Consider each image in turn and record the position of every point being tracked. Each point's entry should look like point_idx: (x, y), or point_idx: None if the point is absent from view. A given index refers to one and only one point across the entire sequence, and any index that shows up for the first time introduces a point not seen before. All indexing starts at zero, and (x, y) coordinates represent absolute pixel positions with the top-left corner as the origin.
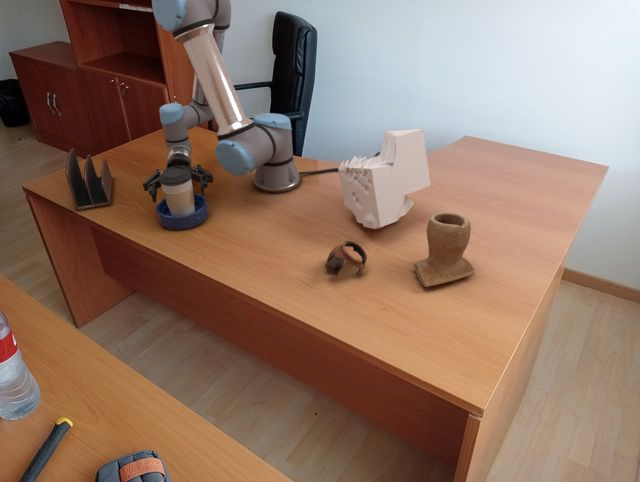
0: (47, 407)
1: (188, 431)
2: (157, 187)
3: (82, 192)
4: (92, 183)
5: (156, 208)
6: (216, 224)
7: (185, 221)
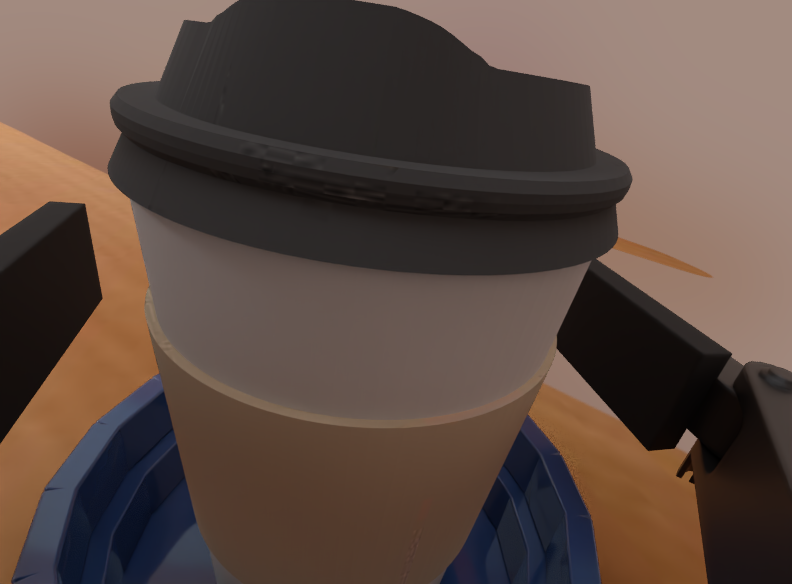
0: None
1: None
2: (705, 488)
3: None
4: None
5: (548, 442)
6: (84, 435)
7: None
